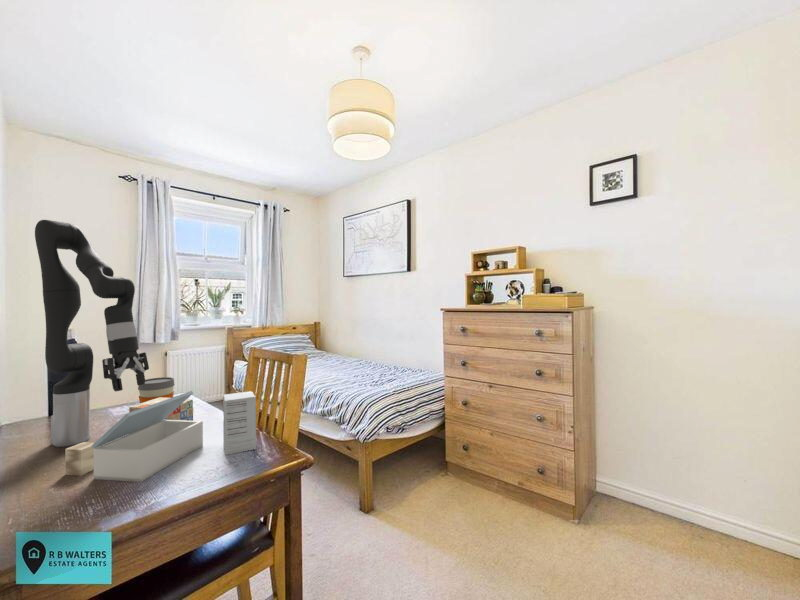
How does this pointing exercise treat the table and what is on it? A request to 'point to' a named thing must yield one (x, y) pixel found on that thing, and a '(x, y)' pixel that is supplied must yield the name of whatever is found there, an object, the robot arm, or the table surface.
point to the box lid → (142, 418)
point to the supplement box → (239, 422)
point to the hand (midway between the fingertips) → (130, 387)
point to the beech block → (79, 459)
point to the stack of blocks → (178, 414)
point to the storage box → (147, 450)
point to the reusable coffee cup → (156, 389)
